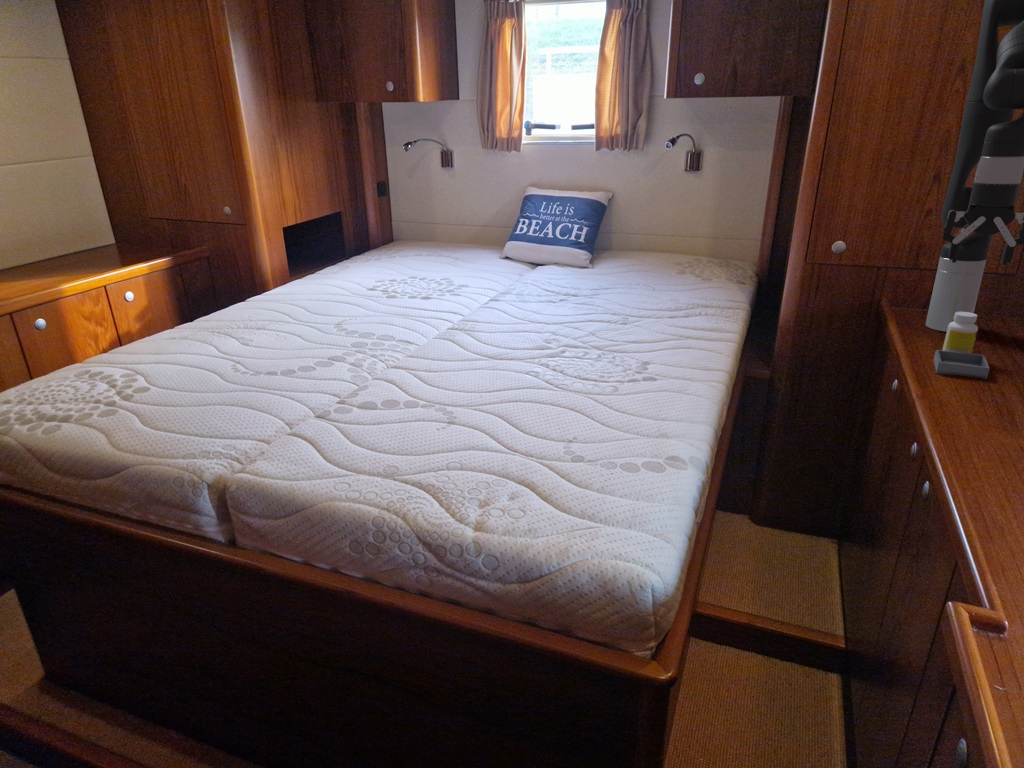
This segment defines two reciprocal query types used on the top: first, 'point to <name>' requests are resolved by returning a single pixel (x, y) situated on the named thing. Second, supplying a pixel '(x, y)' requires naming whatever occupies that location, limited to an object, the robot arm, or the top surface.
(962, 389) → the top surface
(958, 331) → the supplement bottle
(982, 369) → the tray
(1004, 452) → the top surface
